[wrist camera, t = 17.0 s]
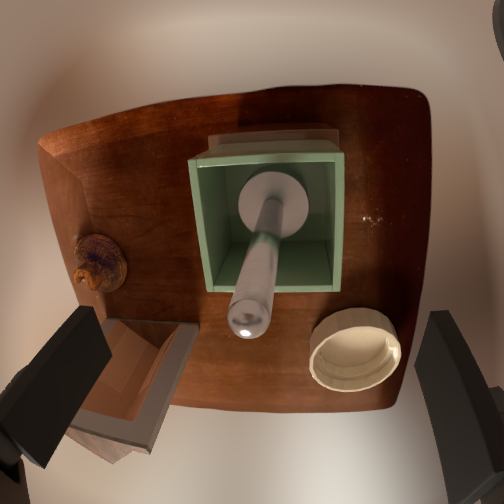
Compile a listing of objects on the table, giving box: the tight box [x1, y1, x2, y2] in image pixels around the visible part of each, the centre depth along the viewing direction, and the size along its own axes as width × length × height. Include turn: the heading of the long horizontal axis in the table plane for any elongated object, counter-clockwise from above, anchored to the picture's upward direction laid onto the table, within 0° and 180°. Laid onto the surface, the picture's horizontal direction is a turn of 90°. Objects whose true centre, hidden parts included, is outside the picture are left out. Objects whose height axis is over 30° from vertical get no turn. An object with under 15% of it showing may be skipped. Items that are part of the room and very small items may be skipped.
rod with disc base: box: [227, 165, 309, 339], centre depth 21 cm, size 6×6×19 cm
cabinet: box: [65, 317, 200, 464], centre depth 50 cm, size 21×10×28 cm, turn 95°
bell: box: [73, 234, 127, 292], centre depth 52 cm, size 12×12×7 cm
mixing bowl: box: [309, 308, 401, 392], centre depth 53 cm, size 16×16×6 cm
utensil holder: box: [188, 122, 344, 292], centre depth 33 cm, size 12×12×25 cm
